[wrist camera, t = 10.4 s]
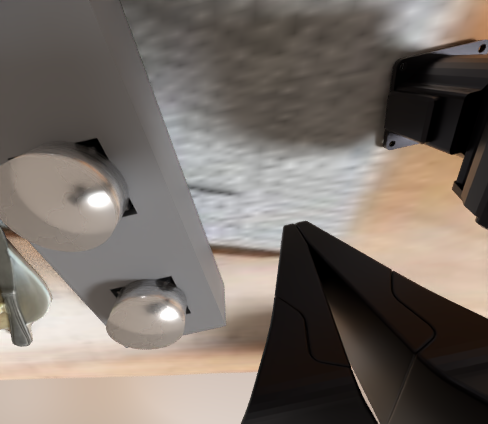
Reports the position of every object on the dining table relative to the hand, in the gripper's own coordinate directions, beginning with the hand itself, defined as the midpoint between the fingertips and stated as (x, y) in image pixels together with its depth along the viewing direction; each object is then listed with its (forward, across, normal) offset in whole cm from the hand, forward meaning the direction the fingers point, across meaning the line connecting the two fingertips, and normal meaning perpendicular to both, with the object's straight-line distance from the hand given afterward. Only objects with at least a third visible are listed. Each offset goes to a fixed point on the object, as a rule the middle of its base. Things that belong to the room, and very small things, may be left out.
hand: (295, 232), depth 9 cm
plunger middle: (+12, +11, -1) cm, 16 cm away
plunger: (+11, +11, +10) cm, 19 cm away
